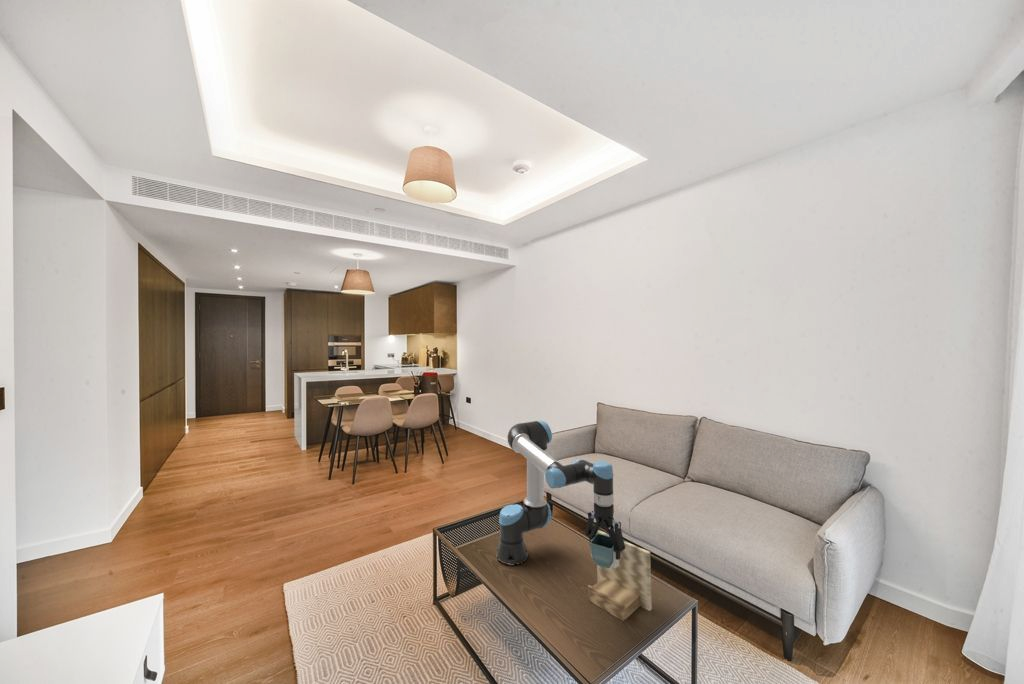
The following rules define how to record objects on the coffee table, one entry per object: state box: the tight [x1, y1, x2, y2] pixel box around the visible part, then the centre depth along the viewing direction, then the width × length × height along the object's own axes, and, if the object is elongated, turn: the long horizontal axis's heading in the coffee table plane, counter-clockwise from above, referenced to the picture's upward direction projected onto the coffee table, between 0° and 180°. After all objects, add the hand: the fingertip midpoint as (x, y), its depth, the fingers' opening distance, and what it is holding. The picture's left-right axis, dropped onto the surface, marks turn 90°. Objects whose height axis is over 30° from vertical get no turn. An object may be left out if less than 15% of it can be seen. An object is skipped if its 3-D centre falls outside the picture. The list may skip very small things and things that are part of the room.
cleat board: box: [587, 530, 653, 622], centre depth 147 cm, size 24×14×22 cm, turn 42°
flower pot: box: [589, 533, 614, 568], centre depth 143 cm, size 9×9×9 cm
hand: (604, 561), depth 143 cm, fingers closed on flower pot, 9 cm apart
